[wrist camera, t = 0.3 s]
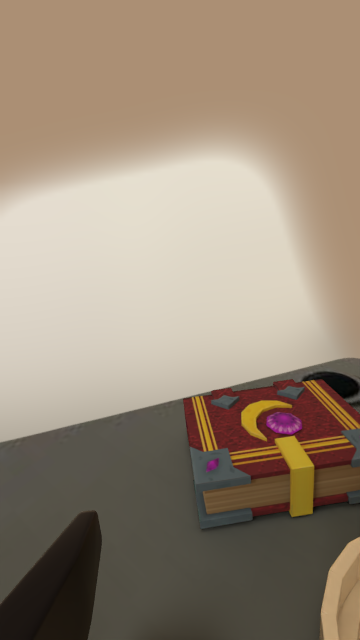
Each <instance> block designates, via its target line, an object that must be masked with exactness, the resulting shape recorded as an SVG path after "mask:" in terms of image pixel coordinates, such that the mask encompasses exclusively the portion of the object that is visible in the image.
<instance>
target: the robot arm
mask: <svg viewBox="0 0 360 640" xmlns="http://www.w3.org/2000/svg"><path fill="white" fill-rule="evenodd" d="M101 545H102V536H101V530H100V525H99V519H98V514H97V512H96V511H94V510H92V511H83V512H80V513H79V514H78V515H77V516H76V517H75V518H74V520H73V521H72V522H71V523H70V524H69V525H68V526H67V528H66V529H65V530H64V531H63V532H62V533H61V535H60V536H59V537H58V538H57V539H56V540H55V541H54V543H53V544H52V545H51V546H50V547H49V548H48V550H47V551H46V552H45V553H44V554H43V555H42V557H41V558H40V559H39V560H38V561H37V562H36V563H35V565H34V566H33V567H32V568H31V569H30V570H29V572H28V573H27V574H26V575H25V576H24V577H23V578H22V580H21V581H20V582H19V583H18V584H17V585H16V587H15V588H14V589H13V590H12V591H11V592H10V593H9V595H8V596H7V597H6V598H5V599H4V600H3V602H2V603H1V604H0V640H87V639H88V634H89V630H90V625H91V620H92V613H93V606H94V598H95V591H96V583H97V576H98V568H99V561H100V553H101Z"/></svg>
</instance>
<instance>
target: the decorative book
mask: <svg viewBox="0 0 360 640" xmlns="http://www.w3.org/2000/svg"><path fill="white" fill-rule="evenodd" d="M211 393H212V395H206V396H199V397H192V398H185V399H183V402H184V410H185V419H186V427H187V434H188V440H189V446H190V455H191V461H192V467H193V473H194V480H193V481H194V487H195V494H196V501H197V507H198V514H199V520H200V527H201V529H204V528H209V527H215V526H221V525H227V524H233V523H238V522H244V521H250V520H253V516H259V515H265V514H271V513H277V512H284V511H289V512H290V515H291V517H295V516H301V515H307V514H313V507H314V506H321V505H327V504H333V503H339V502H345V501H348V502H349V504H355V503H360V414H359V413H358V412H357V411H356V410H355V409H353V408H352V407H351V406H350V405H349V404H348V403H347V402H346V401H345V400H344V399H343V398H342V397H340V396H339V395H338V394H337V393H336V392H335V391H334V390H333V389H332V388H331V387H330V386H328V385H327V384H326V383H325V382H324V381H323V380H322V379H319V380H312V381H305V382H298V383H295V381H294V380H293V379H291V380H284V381H277V382H273V386H270V387H263V388H256V389H248V390H241V391H234V392H233V391H232V389H231V388H227V389H220V390H213V391H211Z"/></svg>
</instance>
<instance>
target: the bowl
mask: <svg viewBox="0 0 360 640" xmlns="http://www.w3.org/2000/svg"><path fill="white" fill-rule="evenodd" d="M319 640H360V537H359V538H357V539H355V540H353V541H351V542H349V543H348V544H347V545H346V547H345V548H344V550H343V551H342V552H341V554H340V555H339V557H338V558H337V559H336V561H335V562H334V564H333V565H332V566H331V568H330V570H329V573H328V578H327V583H326V588H325V593H324V598H323V603H322V608H321V619H320V637H319Z"/></svg>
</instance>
